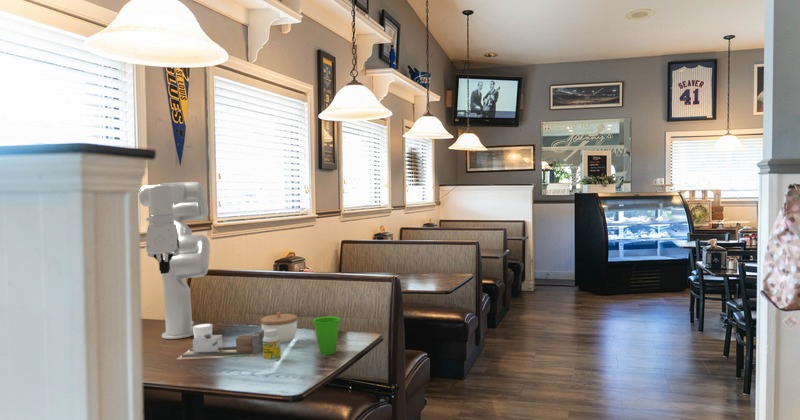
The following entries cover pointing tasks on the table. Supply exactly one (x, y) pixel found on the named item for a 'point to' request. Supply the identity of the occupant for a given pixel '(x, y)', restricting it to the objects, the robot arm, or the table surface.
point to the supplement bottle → (271, 344)
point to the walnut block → (244, 343)
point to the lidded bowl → (281, 325)
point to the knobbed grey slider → (207, 344)
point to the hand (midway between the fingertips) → (164, 273)
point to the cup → (327, 334)
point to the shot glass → (202, 329)
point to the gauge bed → (230, 350)
